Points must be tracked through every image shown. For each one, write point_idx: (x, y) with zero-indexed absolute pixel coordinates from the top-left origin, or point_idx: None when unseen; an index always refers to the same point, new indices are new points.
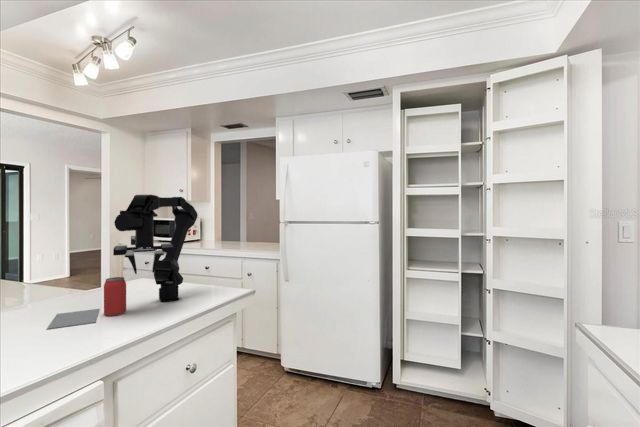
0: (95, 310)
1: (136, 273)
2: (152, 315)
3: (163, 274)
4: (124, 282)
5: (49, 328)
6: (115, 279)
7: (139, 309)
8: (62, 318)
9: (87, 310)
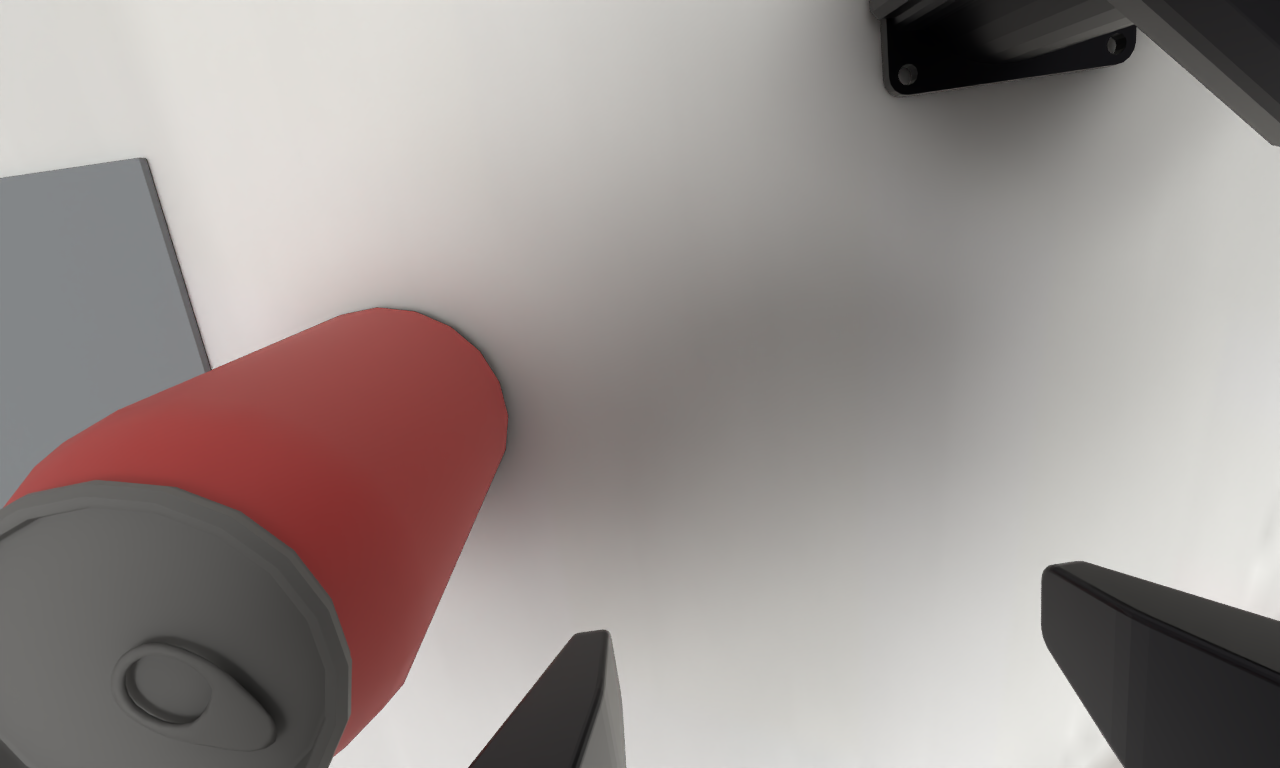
0: (122, 236)
1: (620, 717)
2: (791, 616)
3: (1265, 55)
4: (394, 667)
5: None
6: (171, 736)
7: (639, 342)
8: None
9: (15, 200)
